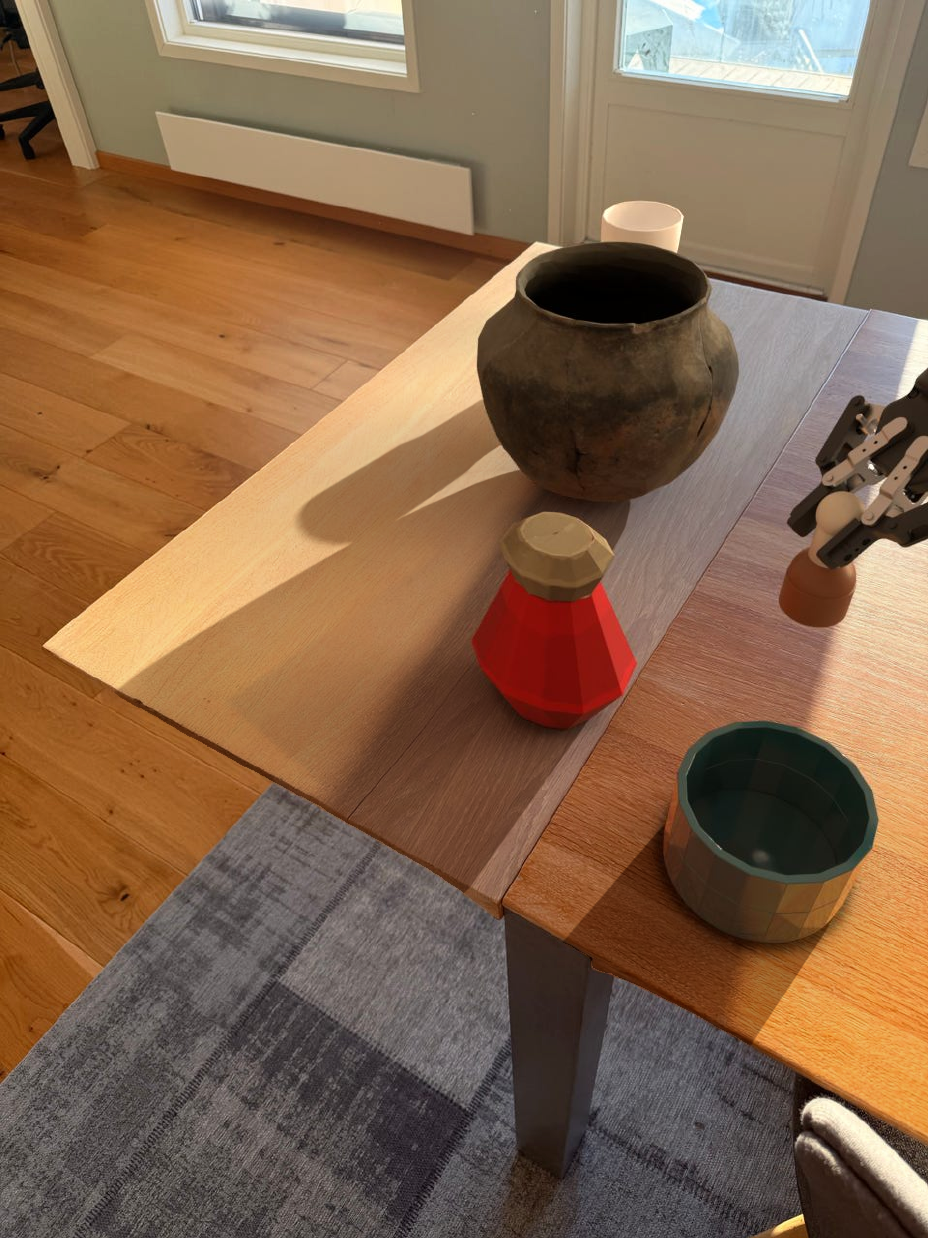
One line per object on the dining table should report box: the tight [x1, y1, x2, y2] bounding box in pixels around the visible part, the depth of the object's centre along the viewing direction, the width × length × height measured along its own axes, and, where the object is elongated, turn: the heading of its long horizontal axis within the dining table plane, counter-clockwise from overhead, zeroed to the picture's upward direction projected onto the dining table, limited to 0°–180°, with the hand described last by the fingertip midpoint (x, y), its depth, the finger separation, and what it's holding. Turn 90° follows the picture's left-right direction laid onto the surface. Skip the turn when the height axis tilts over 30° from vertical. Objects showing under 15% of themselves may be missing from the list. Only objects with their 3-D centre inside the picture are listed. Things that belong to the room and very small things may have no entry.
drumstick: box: [778, 491, 867, 629], centre depth 68 cm, size 5×5×11 cm
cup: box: [600, 200, 684, 253], centre depth 133 cm, size 11×11×17 cm
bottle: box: [470, 511, 638, 731], centre depth 80 cm, size 16×14×20 cm
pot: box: [476, 241, 740, 503], centre depth 104 cm, size 29×32×25 cm
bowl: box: [662, 720, 880, 944], centre depth 71 cm, size 14×15×9 cm
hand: (809, 545), depth 67 cm, fingers closed on drumstick, 3 cm apart
